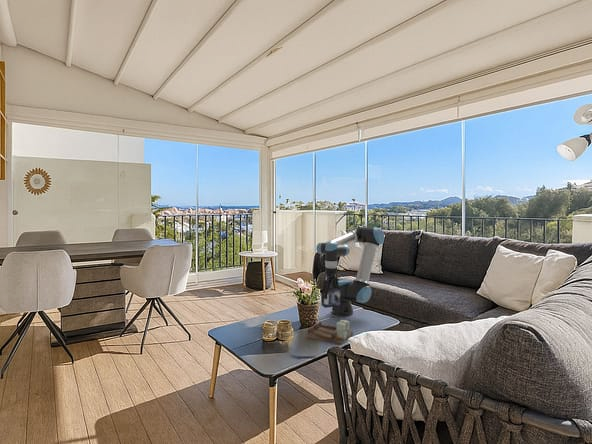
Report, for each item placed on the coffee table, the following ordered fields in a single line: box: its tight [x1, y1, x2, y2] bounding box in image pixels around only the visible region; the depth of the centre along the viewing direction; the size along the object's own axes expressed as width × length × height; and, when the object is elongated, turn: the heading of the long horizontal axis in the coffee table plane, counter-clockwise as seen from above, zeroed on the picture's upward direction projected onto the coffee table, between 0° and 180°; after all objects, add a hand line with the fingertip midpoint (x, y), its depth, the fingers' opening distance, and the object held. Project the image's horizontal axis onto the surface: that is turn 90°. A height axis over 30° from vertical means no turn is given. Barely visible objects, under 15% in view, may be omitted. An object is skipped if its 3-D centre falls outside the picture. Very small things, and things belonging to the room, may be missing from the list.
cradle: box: [306, 319, 354, 345], centre depth 213 cm, size 18×22×10 cm
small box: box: [321, 287, 340, 309], centre depth 224 cm, size 11×6×10 cm, turn 111°
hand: (330, 301), depth 224 cm, fingers closed on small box, 12 cm apart
